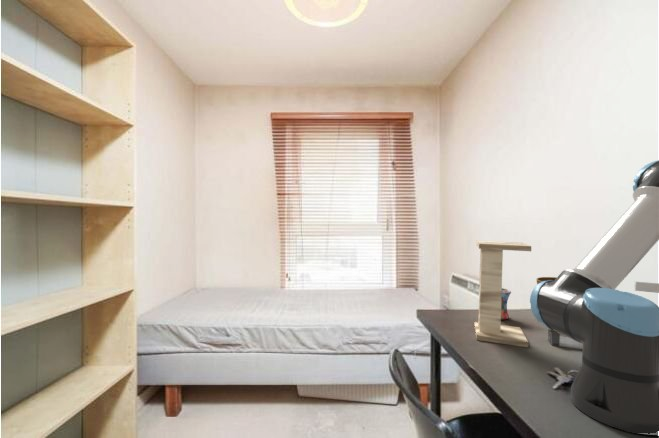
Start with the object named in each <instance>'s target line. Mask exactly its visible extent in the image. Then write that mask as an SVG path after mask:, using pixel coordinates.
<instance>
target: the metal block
mask: <svg viewBox="0 0 659 438" xmlns="http://www.w3.org/2000/svg"><path fill="white" fill-rule="evenodd" d="M547 341H548V343H549V344H550V345H551V346H553V347H554V346H555V347H564V348H572V349H578V350H579V349H580V350H582V348H583V344H582V343H580V342H577V341H575V340H573V339H571V338H569V337H567V336H565V335H563V334H561V333H559V332H555V331H553V330H551V329H549V328H548V330H547Z"/></svg>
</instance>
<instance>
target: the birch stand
mask: <svg viewBox="0 0 659 438" xmlns="http://www.w3.org/2000/svg"><path fill="white" fill-rule="evenodd" d="M476 246H477V248H478V249H480V252H479V253H480V257H479V283H478V285H479V287H478V321H474V323H473V324H474V325H473V326H475V327H474V332H476V333H475V338H477V339H476V341H483V342H489V343H496V344H503V345H511V346H515V347H524V348H529V341H528V338H527V337H526V335H525V334H524V332H523V330H522V328H521V327H520V326H511V325H502V324H501V323H502V322H501V321H502V319H501V295H502V288H503V287H502V286H503V261H504V260H503V257H504V256H503V255H504V254H503V253H504V251H515V252H517V251H519V252H532V245H529V244H527V243H523V242H509V241H493V240H492V241H490V240H489V241H488V240H476Z"/></svg>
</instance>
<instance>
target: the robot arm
mask: <svg viewBox="0 0 659 438" xmlns="http://www.w3.org/2000/svg"><path fill="white" fill-rule="evenodd" d="M633 183H634V184H633V185H632V191H633V192H632V198H633V200H634V202H633V203H631V205H630V206H629V207H628V208H627V209H626V210H625V212H624V213H623V214H622V215H621V216H620V217H619V218H618V220H617V221H616V222H615V223H614V224H613V225H612V226H611V228H610V229H609V230H608V231H607V232H605V234H604V235H603V236H602V237H601V238H600V240H599V241H598V242H597V243H596V244H595V245H594V246H593V247H592V249H590V251H589V252H588V253H587V254H586V255H585V256H584V258H583V259H581V260H580V262H579V263H578V264H577V265H576V266H575V267H574V268H573V269H572V268H571V269H563V270H562V271H561V272H560V274H558V276H557V278H556V279H555V280H554V281H553V280H547V281H543V282H540V283H539V284H537V283H536V286H534V288H533V289H532V291H531V293H530V296H529V297H530V298H529V303H530V309H531V312H532V315H533V316H534V317H535V320H537V321H538V322H539V323H540V324H542V325H543V326H545V327H547V328H548V329H550V330H553V331H555V332H558V333H561V334H563V335H565V336H567V337H569V338H571V339H573V340H575V341H577V342H580V343H582V344H583V348H582V349H581V351H582V353H581V354H582V358H581V359H582V360H581V364H580V368H579V369H578V371H577V373H576V376H575V378H574V379H573V382H572V384H571V386H570V401H571V403H572V404H573V405H574V406H575V407H576V408H577V409H578V410H579V411H581V412H582V413H583V414H585V415H586V416H588V417H590V418H592V419H593V420H595V421H598V422H600V423H601V424H605V425H607V426H609V427H612V428H614V427H615V428H614V429H617V428H618V429H617V430H620V429H621V430H620V431H623V430H624V432H627V433H630V432H632V433H631V434H634V433H648V434H650V433H656V432H657V431H659V305H657V304H656V303H655V302H654V301H652V300H650V299H649V298H646V297H643V296H641V295H638V294H635V293H632V292H628V291H622V290H621V291H620V290H618V289H617V288H618V286H620V284H621V283H622V282H623V281H624V280H625V279H626V277H627V276H628V275H629V274H630V273H631V272H632V270H634V268H635V267H636V266H637V265H638V264H639V263H640V262H641V261H642V260H643V258H644V257H645V256H646V255H647V254H648V253H649V252H650V250H651V249H652V248H653V247H654V246H655V245H656V244H657V242H659V159H658V160H654V161H652V162H649V163H647V164H645V165H644V166H643V167H641V168H640V169H639V170H638V172H637V173H636V174H635V176H634V179H633ZM633 285H634V286H633V290H634V291H636V292H646V293H656V294H659V283H657V282H647V281H646V282H645V281H634V284H633Z"/></svg>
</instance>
